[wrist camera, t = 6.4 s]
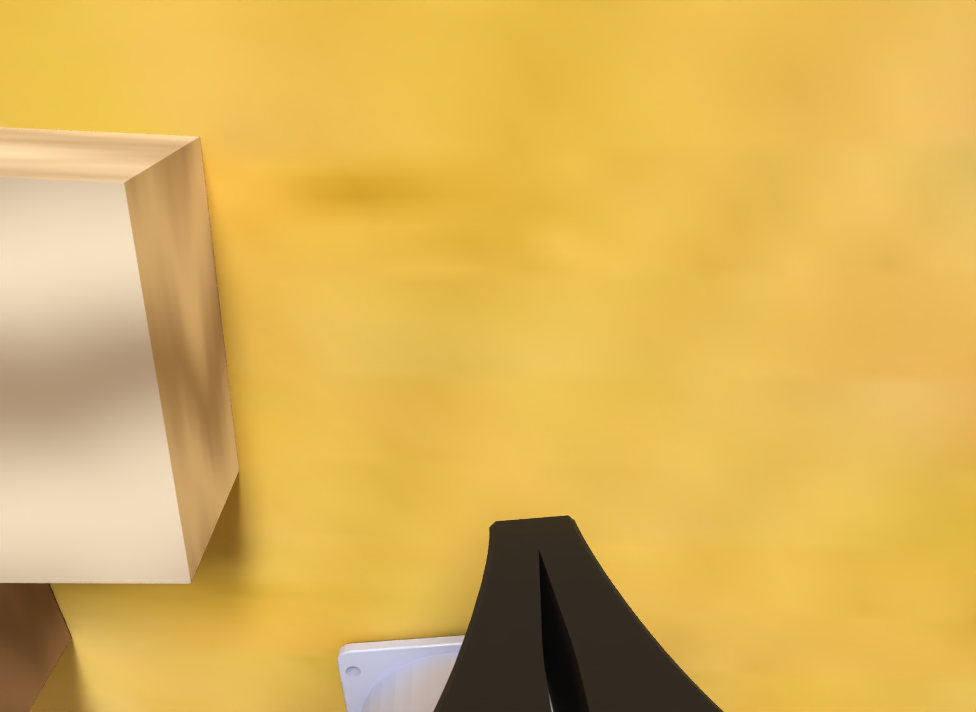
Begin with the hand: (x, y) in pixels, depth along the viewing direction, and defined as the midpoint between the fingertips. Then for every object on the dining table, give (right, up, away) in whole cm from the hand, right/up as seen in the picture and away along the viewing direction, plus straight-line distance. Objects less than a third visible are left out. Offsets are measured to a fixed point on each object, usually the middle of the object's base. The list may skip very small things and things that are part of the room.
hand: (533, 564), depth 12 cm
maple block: (-12, +5, +8) cm, 15 cm away
